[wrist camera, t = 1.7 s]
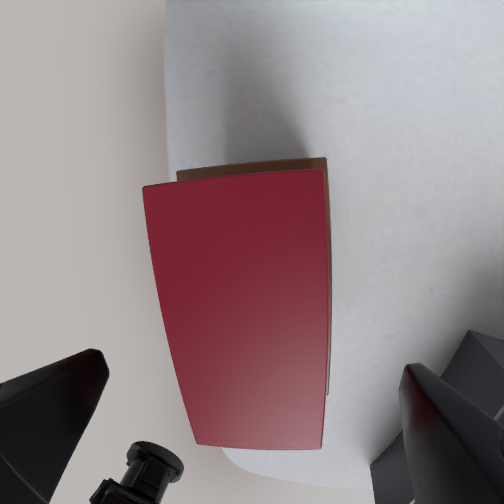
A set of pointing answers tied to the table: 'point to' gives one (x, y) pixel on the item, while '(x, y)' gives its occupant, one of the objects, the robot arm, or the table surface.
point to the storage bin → (465, 382)
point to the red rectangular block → (246, 303)
